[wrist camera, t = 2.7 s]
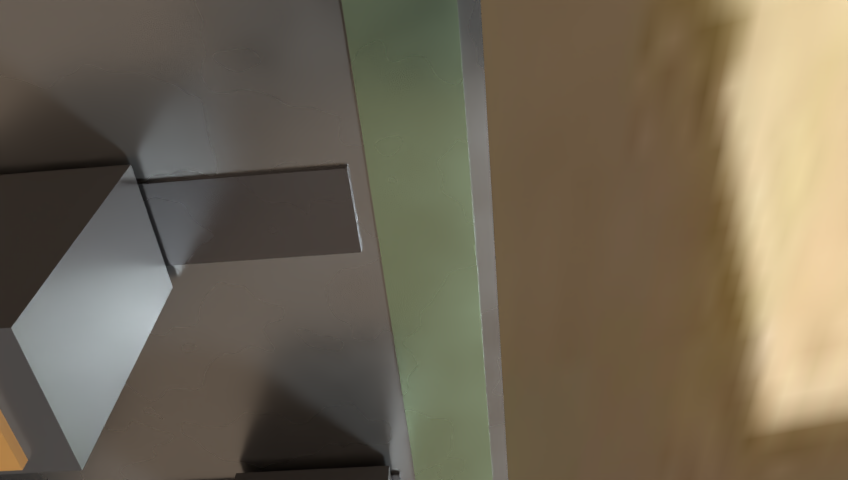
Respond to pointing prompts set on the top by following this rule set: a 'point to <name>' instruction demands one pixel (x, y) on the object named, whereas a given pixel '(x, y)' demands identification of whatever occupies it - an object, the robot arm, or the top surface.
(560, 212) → the top surface
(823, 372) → the top surface
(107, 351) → the breaker mid
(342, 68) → the panel
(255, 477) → the block
